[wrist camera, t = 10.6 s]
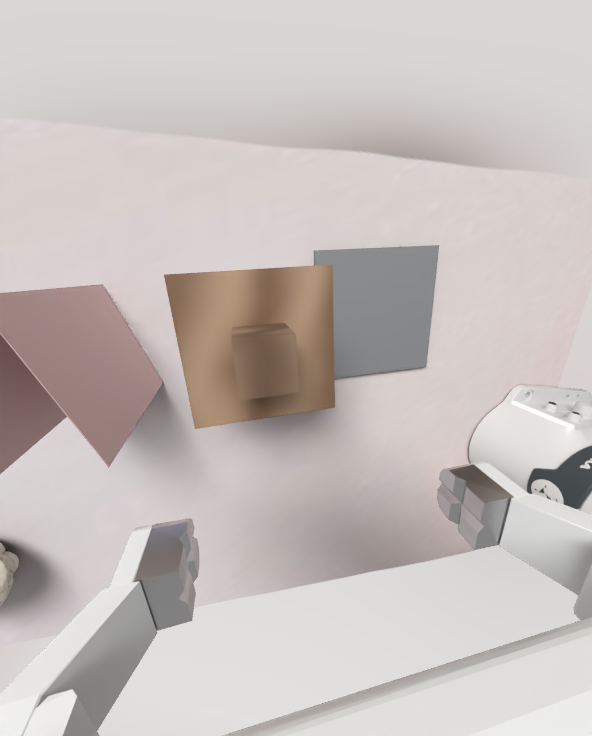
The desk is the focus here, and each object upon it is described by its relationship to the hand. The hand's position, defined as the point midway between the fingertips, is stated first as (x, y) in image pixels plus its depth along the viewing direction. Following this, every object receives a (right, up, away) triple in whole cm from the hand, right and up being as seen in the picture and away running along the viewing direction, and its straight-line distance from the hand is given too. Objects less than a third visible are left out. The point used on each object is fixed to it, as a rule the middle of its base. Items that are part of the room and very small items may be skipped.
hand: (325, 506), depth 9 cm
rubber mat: (+9, +11, +26) cm, 29 cm away
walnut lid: (-4, +6, +14) cm, 15 cm away
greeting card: (-19, +7, +21) cm, 29 cm away
